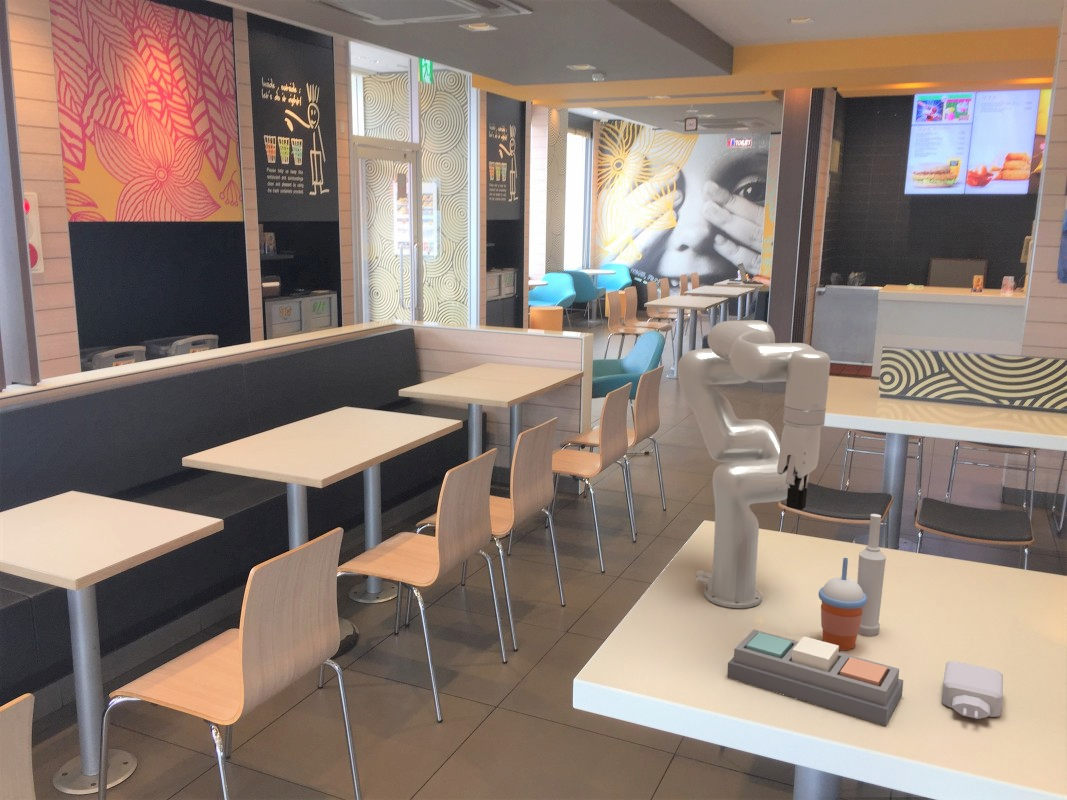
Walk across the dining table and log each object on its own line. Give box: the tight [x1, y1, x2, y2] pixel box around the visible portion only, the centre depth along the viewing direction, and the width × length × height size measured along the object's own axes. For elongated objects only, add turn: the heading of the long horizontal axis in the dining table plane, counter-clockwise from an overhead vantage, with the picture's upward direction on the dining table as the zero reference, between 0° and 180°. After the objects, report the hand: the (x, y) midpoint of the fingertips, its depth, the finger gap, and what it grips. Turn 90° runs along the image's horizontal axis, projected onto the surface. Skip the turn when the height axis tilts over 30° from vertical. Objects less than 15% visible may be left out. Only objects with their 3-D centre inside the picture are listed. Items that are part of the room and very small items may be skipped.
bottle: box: [856, 513, 887, 637], centre depth 179 cm, size 5×5×25 cm
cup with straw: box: [818, 557, 867, 651], centre depth 174 cm, size 9×9×18 cm
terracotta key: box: [840, 657, 888, 687], centre depth 154 cm, size 6×6×3 cm
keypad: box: [726, 629, 904, 727], centre depth 159 cm, size 28×12×6 cm, turn 55°
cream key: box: [792, 636, 840, 672], centre depth 158 cm, size 6×6×3 cm
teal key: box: [746, 633, 792, 659], centre depth 163 cm, size 6×6×3 cm
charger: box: [940, 660, 1004, 720], centre depth 152 cm, size 5×9×15 cm
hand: (795, 507), depth 170 cm, fingers closed
